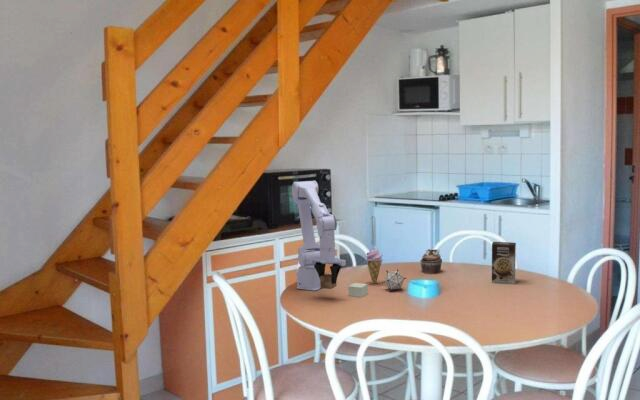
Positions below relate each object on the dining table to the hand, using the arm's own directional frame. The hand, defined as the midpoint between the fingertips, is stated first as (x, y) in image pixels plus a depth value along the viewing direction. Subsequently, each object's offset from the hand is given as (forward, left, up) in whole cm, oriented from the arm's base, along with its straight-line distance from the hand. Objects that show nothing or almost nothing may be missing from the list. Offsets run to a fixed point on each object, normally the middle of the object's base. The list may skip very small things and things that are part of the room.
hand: (328, 282), depth 221 cm
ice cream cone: (+7, +27, -6) cm, 29 cm away
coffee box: (+54, +50, -6) cm, 74 cm away
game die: (+18, +21, -6) cm, 28 cm away
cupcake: (+21, +56, -6) cm, 60 cm away
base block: (+8, +9, -6) cm, 14 cm away
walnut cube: (0, 0, -2) cm, 2 cm away
